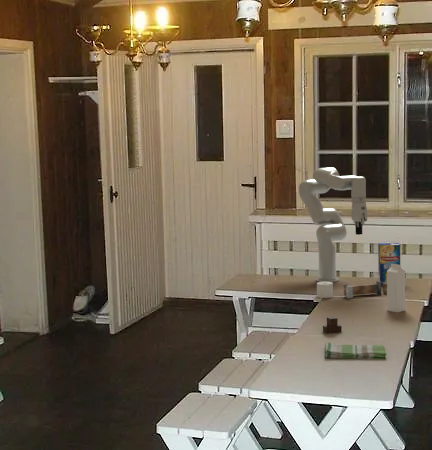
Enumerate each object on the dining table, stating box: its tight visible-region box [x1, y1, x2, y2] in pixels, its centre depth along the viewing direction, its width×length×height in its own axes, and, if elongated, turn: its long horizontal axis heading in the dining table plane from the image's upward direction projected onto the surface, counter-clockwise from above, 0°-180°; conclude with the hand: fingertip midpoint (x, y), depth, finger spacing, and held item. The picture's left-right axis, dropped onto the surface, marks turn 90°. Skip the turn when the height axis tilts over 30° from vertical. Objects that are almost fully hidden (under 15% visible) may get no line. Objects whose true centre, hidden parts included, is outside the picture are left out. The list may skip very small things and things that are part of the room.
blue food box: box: [377, 242, 401, 286], centre depth 459 cm, size 7×11×22 cm, turn 87°
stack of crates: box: [322, 316, 343, 335], centre depth 356 cm, size 15×15×7 cm
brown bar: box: [343, 283, 377, 297], centre depth 431 cm, size 17×3×5 cm, turn 106°
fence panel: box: [382, 283, 387, 295], centre depth 436 cm, size 3×10×6 cm, turn 107°
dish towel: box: [324, 342, 387, 360], centre depth 324 cm, size 17×23×4 cm
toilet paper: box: [316, 281, 334, 299], centre depth 433 cm, size 8×11×7 cm
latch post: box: [345, 285, 354, 300], centre depth 425 cm, size 2×2×6 cm
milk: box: [386, 264, 406, 313], centre depth 393 cm, size 6×6×22 cm
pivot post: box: [375, 280, 382, 295], centre depth 433 cm, size 2×2×6 cm
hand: (358, 234), depth 447 cm, fingers closed
